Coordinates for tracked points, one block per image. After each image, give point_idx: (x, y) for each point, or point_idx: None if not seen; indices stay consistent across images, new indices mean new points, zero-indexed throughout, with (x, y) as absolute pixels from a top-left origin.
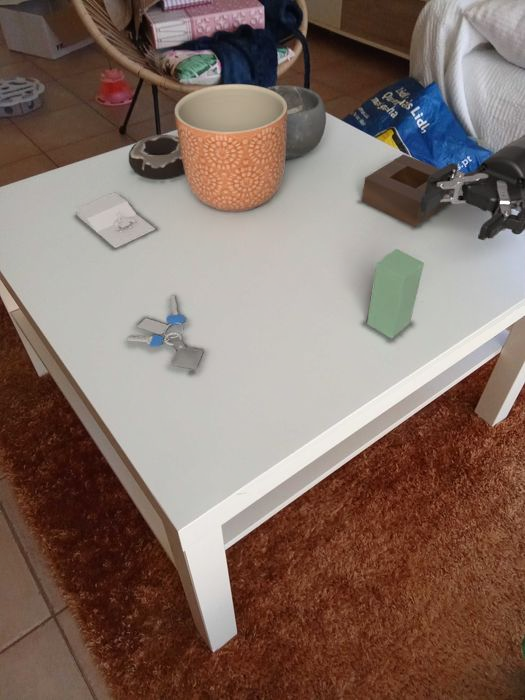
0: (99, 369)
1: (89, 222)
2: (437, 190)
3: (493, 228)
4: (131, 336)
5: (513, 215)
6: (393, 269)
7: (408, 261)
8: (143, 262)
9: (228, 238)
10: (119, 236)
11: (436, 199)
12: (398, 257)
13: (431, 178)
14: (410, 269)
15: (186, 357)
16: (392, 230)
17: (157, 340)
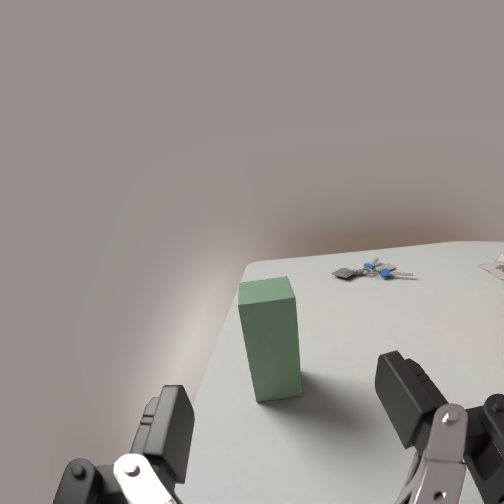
0: (361, 255)
1: (501, 255)
2: (420, 392)
3: (152, 402)
4: (377, 259)
5: (113, 488)
6: (261, 282)
7: (258, 296)
8: (460, 272)
9: (491, 312)
10: (491, 267)
11: (399, 405)
12: (276, 291)
13: (494, 400)
14: (244, 291)
15: (343, 271)
16: (479, 493)
17: (368, 265)
